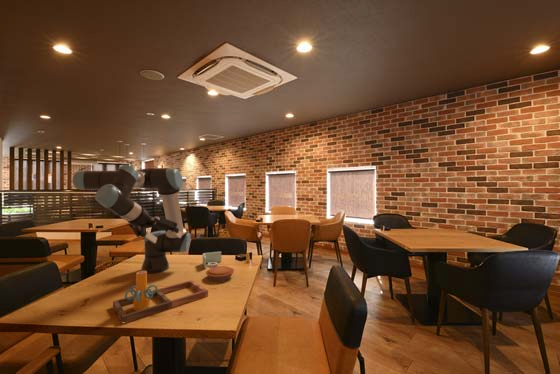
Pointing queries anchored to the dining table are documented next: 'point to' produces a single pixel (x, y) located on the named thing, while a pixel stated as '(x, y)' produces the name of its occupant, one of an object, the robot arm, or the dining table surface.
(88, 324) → the dining table surface
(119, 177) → the robot arm
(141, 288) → the orange post with rings
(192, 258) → the dining table surface
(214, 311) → the dining table surface
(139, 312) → the rail frame
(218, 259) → the right angle wall
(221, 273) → the pie
